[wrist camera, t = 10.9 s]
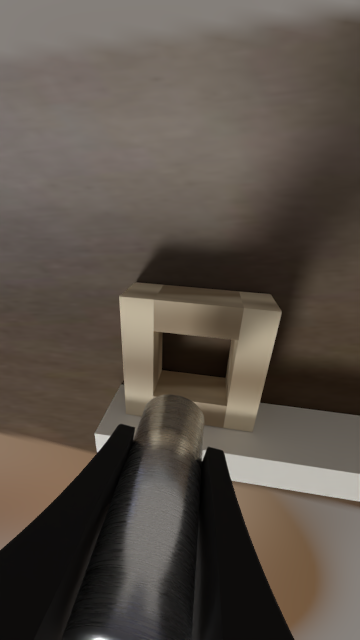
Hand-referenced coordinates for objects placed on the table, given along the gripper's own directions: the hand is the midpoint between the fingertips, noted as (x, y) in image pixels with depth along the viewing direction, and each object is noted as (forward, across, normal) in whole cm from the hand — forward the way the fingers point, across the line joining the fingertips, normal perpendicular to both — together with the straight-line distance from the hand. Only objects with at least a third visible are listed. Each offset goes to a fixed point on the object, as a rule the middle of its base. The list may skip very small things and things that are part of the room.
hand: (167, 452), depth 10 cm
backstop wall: (+9, -5, +5) cm, 12 cm away
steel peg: (+2, 0, 0) cm, 2 cm away
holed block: (+9, 0, 0) cm, 9 cm away
